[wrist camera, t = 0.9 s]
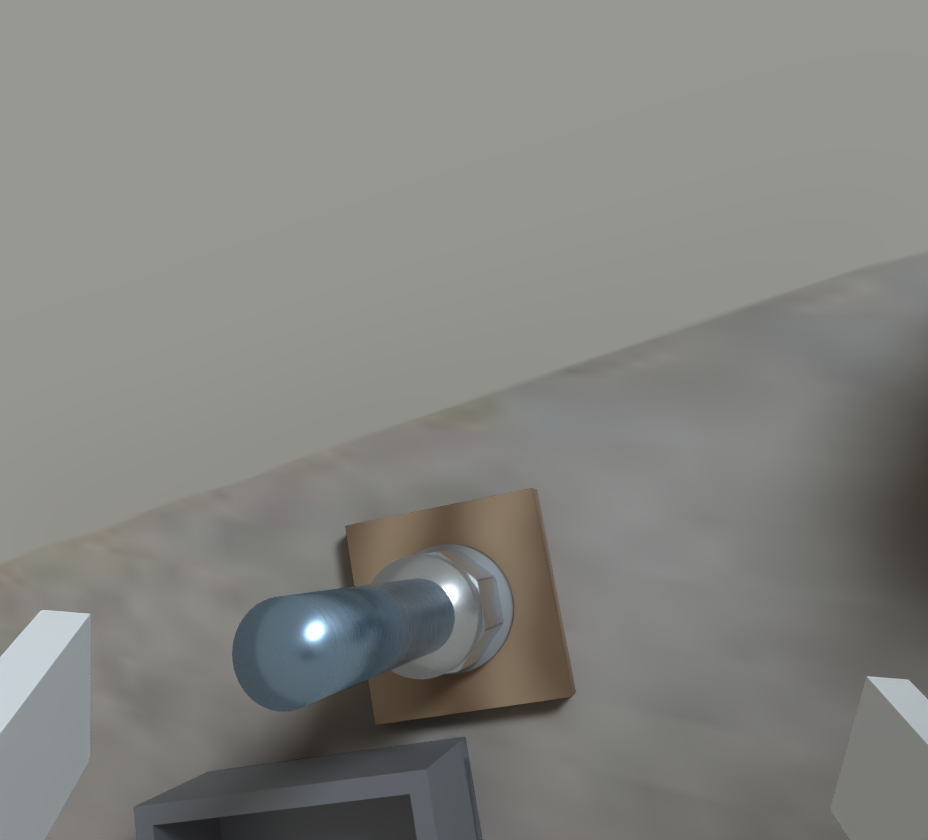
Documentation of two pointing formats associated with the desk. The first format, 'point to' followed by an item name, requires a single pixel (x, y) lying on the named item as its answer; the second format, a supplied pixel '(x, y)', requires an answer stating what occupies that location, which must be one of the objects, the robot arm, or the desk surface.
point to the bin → (325, 799)
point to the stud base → (521, 595)
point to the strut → (368, 631)
